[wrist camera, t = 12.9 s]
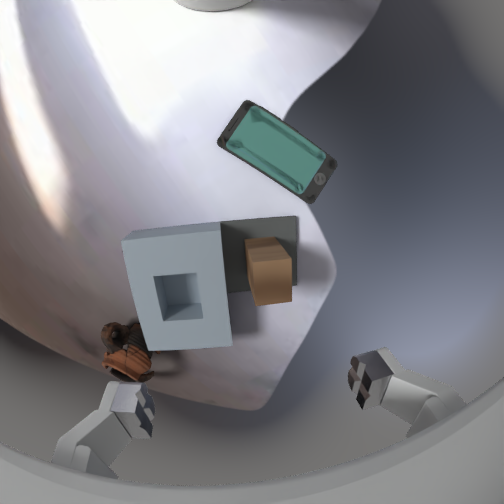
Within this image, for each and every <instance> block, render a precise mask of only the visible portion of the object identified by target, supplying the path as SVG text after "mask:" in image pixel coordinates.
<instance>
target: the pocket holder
mask: <svg viewBox="0 0 504 504" xmlns="http://www.w3.org/2000/svg"><path fill="white" fill-rule="evenodd" d="M121 244H122V249H123V254H124V259H125V264H126V269H127V273H128V278H129V282H130V286H131V291H132V295H133V299H134V303H135V306H136V310H137V314H138V317H139V321H140V325H141V328H142V331H143V335H144V338H145V341H146V344H147V348H148V351H159V350H182V349H199V348H212V347H224V346H233V343H232V334H231V324H230V315H229V307H228V298H227V289H226V279H225V269H224V259H223V249H222V238H221V227H220V222H211V223H201V224H191V225H181V226H172V227H163V228H154V229H145V230H137V231H132V232H131V233H130V234H129V235H127V236H126V237H125V238H124V239H123V240H121Z"/></svg>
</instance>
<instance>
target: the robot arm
mask: <svg viewBox="0 0 504 504" xmlns="http://www.w3.org/2000/svg"><path fill="white" fill-rule="evenodd" d="M174 1H175V2H176V3H178V4H180V5H182V6H184V7H187V8H190V9H194V10H201V11H221V10H228V9H232V8H236V7H239V6H242V5H244V4H246V3H248V2H250V1H252V0H174ZM351 365H352V368H351V369H350V370H349V372H348V383H349V386H350V389H351V391H352V392H354V393H356V394H357V398H356V400H357V402H358V403H359V405H360V407H361V409H362V410H365V409H368V408H371V407H374V406H377V405H380V406H382V407H383V408H385V409H387V410H388V411H390V412H392V413H393V414H395V415H396V416H398V417H400V418H401V419H403V420H405V421H407V422H408V423H410V424H412V426H411V427H410V429H409V431H408V432H407V434H406V437H407V438H406V439H404V440H402V441H400V442H398V443H395V444H393V445H390V446H388V447H386V448H383V449H381V450H378V451H376V452H373V453H371V454H368V455H365V456H362V457H360V458H357V459H354V460H351V461H348V462H345V463H341V464H338V465H335V466H331V467H328V468H324V469H320V470H316V471H312V472H308V473H303V474H299V475H295V476H289V477H284V478H278V479H272V480H265V481H258V482H249V483H239V484H226V485H200V486H198V485H197V486H196V485H195V486H194V485H189V486H188V485H164V484H152V483H142V482H133V481H126V480H120V479H118V476H117V474H116V473H114V471H112V470H111V469H110V468H109V466H110V465H111V464H112V462H113V461H114V460H115V459H116V458H117V456H118V455H119V454H120V453H121V452H122V451H123V449H124V448H125V447H126V445H128V443H129V442H130V441H131V440H132V438H140V439H151V437H152V430H153V425H152V423H151V420H152V419H153V418H154V416H155V404H154V401H153V398H152V396H150V395H149V394H148V393H147V392H148V388H147V386H146V384H145V383H138V382H115V381H110V382H109V383H108V384H107V387H106V389H105V392H104V395H103V398H102V401H101V404H100V407H99V409H98V410H95V411H93V412H92V413H91V414H90V415H88V416H87V417H86V418H85V419H83V420H82V421H81V422H80V423H78V424H77V425H76V426H75V427H74V428H72V429H71V430H70V431H68V432H67V433H66V434H65V435H63V436H62V437H61V438H60V439H59V440H58V443H57V446H56V449H55V451H54V454H53V458H52V461H51V462H48V461H45V460H42V459H40V458H37V457H34V456H32V455H29V454H26V453H24V452H22V451H19V450H17V449H15V448H13V447H10V446H8V445H6V444H4V443H2V442H0V504H504V377H503V378H502V379H501V380H499V381H498V382H497V383H495V384H494V385H493V386H492V387H490V388H489V389H488V390H486V391H485V392H484V393H482V394H481V395H479V396H478V397H477V398H475V399H474V400H472V401H471V402H469V403H468V404H466V403H465V402H464V400H463V399H462V398H461V397H460V396H459V394H458V393H457V392H456V391H455V390H454V388H453V387H452V386H450V385H447V384H444V383H441V382H439V381H436V380H434V379H431V378H429V377H426V376H423V375H421V374H418V373H416V372H413V371H411V370H405V369H404V368H403V367H402V366H401V364H400V363H399V362H398V361H397V359H396V358H395V357H394V356H393V354H391V352H390V351H389V350H388V349H387V348H386V347H383V348H380V349H377V350H374V351H370V352H367V353H363V354H359V355H355V356H353V357H352V359H351Z"/></svg>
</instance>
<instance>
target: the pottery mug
mask: <svg viewBox="0 0 504 504" xmlns="http://www.w3.org/2000/svg"><path fill="white" fill-rule="evenodd" d="M113 332H114V334H113V335H112V333H113ZM101 339H102V341H103V343H104V345H105V346H106V347H107V351H108V352H105V354H104V358H105V359H104V361H103V362H102V365H103V366H104V367H105V368H106V369H107V368H108V366H110V367H112V369H111V371H110V373H111V374H112V375H114V376H115V377H117V378H119V379H120V380H122V381H124V382H138V383H144V382H145V381H148V380H149V379H151V378H152V377H153V376H154V371H152V372H150V373H148V374H143V373H145V372H146V371H148V370H149V369H150V368H151V364H152V363H151V360H150V359H151V357H152V352H153V351H148V348H147V344H146V341H145V338H144V335H143V331H142V328H141V325H139V324H136V323H135V324H134V325H133V327H131V329H130V330H129V329H128V327H127V326H125V325H121V324H119V323H116V322H113V323H108V324H107V325H105V326H104V327H103V329H102V332H101ZM125 344H128V347H127V350H125V349H122V348H123V345H125ZM155 352H156V353H157V354H160V352H161V350H159V351H155Z"/></svg>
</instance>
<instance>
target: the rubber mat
mask: <svg viewBox="0 0 504 504" xmlns="http://www.w3.org/2000/svg"><path fill="white" fill-rule="evenodd" d="M220 227H221V238H222V249H223V259H224V269H225V279H226V289H227V293H231V292H241V291H251V288H250V284H249V280H248V277H247V269H246V256H245V242H244V239H252V238H263V237H275V238H276V239H277V241H278V242H279V243H280V244H281V246H282V247H283V248H284V249H285V251H286V252H287V253H288V255H289V256H290V257H291V258H292V286H295V285H297V252H296V216H284V217H270V218H257V219H245V220H233V221H222V222H220Z"/></svg>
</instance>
